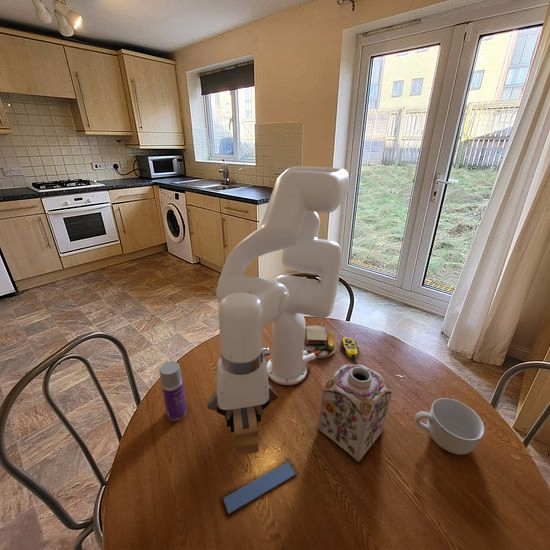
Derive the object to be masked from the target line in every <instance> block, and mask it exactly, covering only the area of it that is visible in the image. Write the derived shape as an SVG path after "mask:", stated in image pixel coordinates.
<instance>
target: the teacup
mask: <svg viewBox="0 0 550 550" xmlns="http://www.w3.org/2000/svg"><path fill="white" fill-rule="evenodd" d="M422 419H426V423H424V422H423V421H421V420H422ZM414 420H415V423H416V425H417V426H418V427H419V428H421V429H422V430H424V431H425V433H428V434H429V436H430V437H431V439H432V441H434V443H435V444H436V445H437V446H439V447H440V448H441V449H443V450H445V451H447V452H449V453H451V454H454V455H467V454H469V453H471V452H472V451H473V450H475V449H476V447H477V445H479V443H480V441H481V439H482V438H483V437H484V435H485V432H486V431H485V425H484V422H483V420H482V419H481V417H480V416H479V415H478V413H477V412H476V411H475V410H474V409H472V408H471V407H470V406H469V405H467V404H465V403H463V402H461V401H459V400H457V399H454V398H449V397H441V398H436V399H435V400H434V401H433V402H432V404H431V407H430V410H429V411H419V412H417V413H416V414H415V416H414Z"/></svg>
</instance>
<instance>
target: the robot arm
mask: <svg viewBox="0 0 550 550" xmlns="http://www.w3.org/2000/svg"><path fill="white" fill-rule="evenodd" d="M349 176H350V175H349V173H348V171H347V170H346V169H344V168H340V167H326V166H312V165H311V166H310V165H298V166H297V165H296V166H290V167H289V168H286V169H285V170H284V172H282V173H281V174H280V175H279V176H278V177H277V179H276V181H275V184H274V186H273V189H272V192H271V195H270V198H269V201H268V204H267V206H266V209H265V212H264V215H263V218H262V220H261V221H262V222H261V223H260V226H259V228H257V229H256V230H255V231H252V232H251V233H250V234H248V235H247V236H246V237H244V238H243V239H242V240H241V241H240V242H239V243H238V244H237V245H236V246H234V248H233V249H232V250H231V251H230V252H229V253H228V254H229V255H227V258H226V260H225V262H224V264H223V268H222V270H221V273H220V276H219V279H218V282H217V285H216V292H215V294H216V300H217V303H218V307H217V313H218V315H217V316H218V329H219V343H220V355H221V356H220V358H219V359H218V361H217V365H216V375H215V376H216V378H215V379H216V380H215V381H216V390H215V392H214V393H213V394H212V395H211V396H210V397H209V399H208V400H207V403H206V405H207V406H206V407H207V409H209V410H211V411H215V412H216V413H217V414H219V415H221V416H224V419H225V420H226V428H229V427H230V434H232V433H233V434H234V420H233V409H238V408H245V407H251V406H254V408H255V414H256V420H257V425H258V429H259V426H260V425H259V423H261V422H262V414H264V410H265V409H267V408H268V407H269V406H270V405H271V403H273V402H275V401H276V400H277V399H278V398H279V395H278V391H276V390H275V388H274V387H273V386H271V385H270V384H269V379H270V380H271V381H273V382H274V383H276V384H279V385H284V386H293V385H296V384H300V383H301V382H303V380H305V378H306V377H307V374H308V366H307V364H308V362H309V361H313V360H316V359H317V358H316V356H315V354H314V353H312V354H309V355H307V351H306V350H305V351H304V340H305V327H306V326H307V325H306V319H305V316H309V317H313V318H314V317H315V318H319V319H326V318H328V317H330V315H332V313H333V309H334V306H335V303H336V296H337V291H338V285H339V281H340V275H341V269H342V264H343V250H342V246H341V245H340V244H339V243H338V242H336V241H333V240H329V239H321V238H319V231H320V226H321V219H320V216H319V214H318V213H321V214H322V213H323V214H324V213H325V214H329V213H334V212H335V211H336V210H337V209H338V208H339V207H340V206H341V204H342V203H343V202H344V201H345V199H346V198H347V196H348V193H349V189H350V177H349ZM280 250H283V251H282V259H281V261H282V265H283V267H284V268H286V269H288V270H289V271H294V272H298V273H304V274H309V275H315V276H318V277H319V278H320V280H319V279H318V280H317V279H313V278H307V277H302V276H296V275H291V274H282V275H278V276H275V278H273V279H272V280H271V279H265V278H261V277H257V276H253V275H246V274H244V273H245V270H246V269H247V267H248V266H249V265H250V264H251V263H252V262H253V261H254V260H256V259H257V258H259V257H261V256H264V255H266V254H270V253H273V252H277V251H280ZM304 315H305V316H304ZM270 323H271V353H270V348H269V347H267V348H266V347H264V346H263V329H264V328H265V327H266V326H267V325H270ZM270 355H271V357H270V358H269V360H268V361H266V357H267V356H270Z"/></svg>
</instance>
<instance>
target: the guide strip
mask: <svg viewBox="0 0 550 550" xmlns="http://www.w3.org/2000/svg"><path fill="white" fill-rule="evenodd" d="M296 475H297V474H296V472H295V471H294V469H293V467H292V466H291V464H290V462H289V461H287V462H285V463H284V464H281V465H280V466H278V467H276V468H274V469H272V470H270V471H269V472H267V473H265V474H263V475H262V476H260V477H258V478H257V479H254V480H253V481H251V482H249V483H248V484H246V485H244V486H242V487H240V488H239V489H237V490H235V491H233V492H231V493H230V494H228V495H226V496H224V497H223V498H222V500H223V503H224V505H225V508H226V511H227V514H228V515H230V514H232V513H234V512H235V511H237V510H239V509H241V508H243V507H244V506H245V505H247V504H249V503H250V502H252V501H254V500H256V499H258V498H259V497H261V496H263V495H265V494H266V493H267V492H269V491H271V490H273V489H275V488H276V487H278V486H280V485H281V484H283V483H285V482H287V481H288V480H290V479H291V478H294V477H295V476H296Z"/></svg>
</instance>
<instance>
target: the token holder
mask: <svg viewBox="0 0 550 550" xmlns="http://www.w3.org/2000/svg"><path fill="white" fill-rule="evenodd" d="M233 420H234V432H233V436H234V446H235V447H234V448H235V456H236V457H239V456H244V455H249V454H255V453H260V452H259V451H260V450H259V448H260V447H259V445H260V443H259V442H260V441H259V438H260V437H259V436H260V435H259V432H260V431H259V428H258V425H257V420H256V414H255V408H254V406H251V407H245V408H238V409H233Z"/></svg>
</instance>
